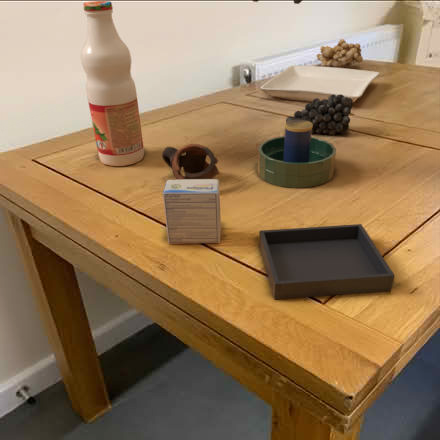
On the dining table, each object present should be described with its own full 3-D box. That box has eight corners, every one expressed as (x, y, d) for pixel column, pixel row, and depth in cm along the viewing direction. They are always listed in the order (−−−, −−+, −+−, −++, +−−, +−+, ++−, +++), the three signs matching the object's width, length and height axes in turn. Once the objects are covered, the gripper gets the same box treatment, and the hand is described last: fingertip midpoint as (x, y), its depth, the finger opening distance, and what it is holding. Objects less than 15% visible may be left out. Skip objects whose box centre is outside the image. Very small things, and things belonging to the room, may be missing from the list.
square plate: (290, 77, 148) (291, 63, 146) (378, 84, 138) (381, 70, 136) (258, 100, 129) (258, 85, 127) (357, 110, 119) (359, 94, 117)
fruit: (286, 93, 101) (358, 92, 98) (287, 96, 108) (354, 95, 106) (284, 135, 103) (354, 136, 101) (285, 135, 111) (350, 135, 109)
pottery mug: (228, 177, 90) (228, 149, 82) (204, 215, 87) (202, 189, 79) (175, 153, 92) (170, 124, 85) (150, 189, 89) (142, 162, 82)
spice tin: (304, 166, 91) (309, 119, 86) (310, 176, 87) (315, 127, 82) (280, 167, 91) (282, 120, 85) (284, 177, 87) (288, 129, 82)
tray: (358, 238, 70) (361, 223, 69) (391, 291, 60) (395, 275, 58) (258, 244, 70) (259, 230, 68) (274, 299, 59) (275, 283, 58)
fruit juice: (137, 168, 94) (114, 5, 76) (92, 166, 95) (60, 6, 78) (150, 150, 101) (131, -2, 84) (108, 149, 102) (81, -1, 85)
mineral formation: (341, 60, 164) (373, 65, 153) (312, 73, 160) (343, 78, 149) (340, 35, 159) (374, 38, 148) (310, 47, 155) (342, 51, 144)
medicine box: (221, 229, 73) (219, 178, 68) (220, 244, 70) (218, 191, 65) (171, 230, 74) (166, 178, 68) (167, 245, 70) (162, 192, 65)
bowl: (322, 158, 95) (324, 133, 92) (342, 188, 84) (345, 161, 81) (253, 162, 95) (253, 137, 92) (264, 192, 83) (265, 166, 80)
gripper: (233, -130, 69) (255, -16, 71) (308, -116, 75) (327, -11, 77) (210, -92, 76) (232, 11, 77) (281, -82, 82) (299, 13, 84)
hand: (279, 0), depth 77 cm, fingers open, 8 cm apart
